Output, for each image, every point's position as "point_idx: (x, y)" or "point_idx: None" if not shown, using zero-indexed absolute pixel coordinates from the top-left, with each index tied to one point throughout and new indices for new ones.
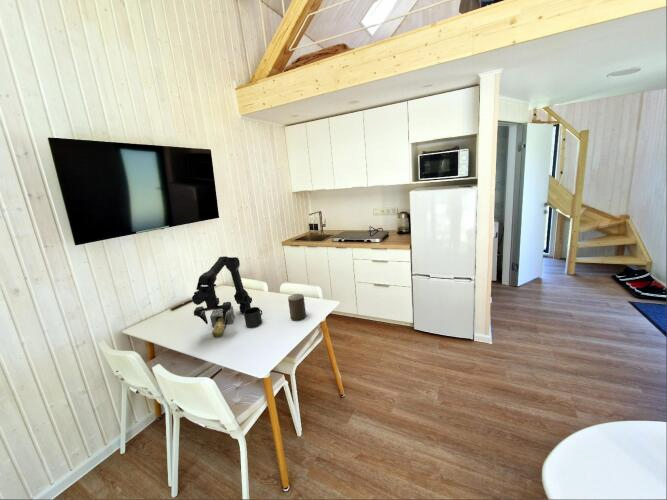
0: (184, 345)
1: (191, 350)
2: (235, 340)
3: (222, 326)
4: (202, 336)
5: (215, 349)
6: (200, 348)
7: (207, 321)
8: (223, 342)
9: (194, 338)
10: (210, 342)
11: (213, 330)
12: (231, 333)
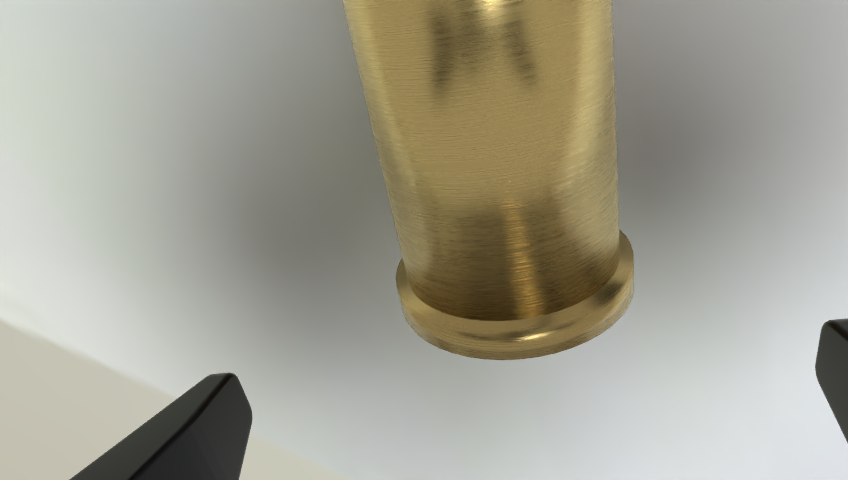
0: (17, 290)
1: None
2: None
3: (609, 134)
4: (141, 80)
5: (545, 470)
6: (320, 407)
7: (202, 421)
8: (625, 355)
9: (25, 120)
10: None
11: (441, 339)
12: (742, 101)
